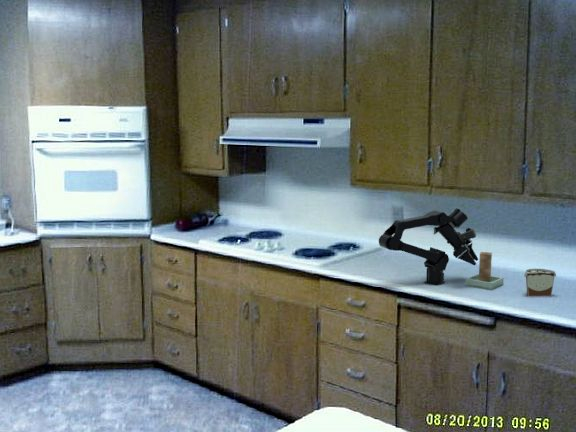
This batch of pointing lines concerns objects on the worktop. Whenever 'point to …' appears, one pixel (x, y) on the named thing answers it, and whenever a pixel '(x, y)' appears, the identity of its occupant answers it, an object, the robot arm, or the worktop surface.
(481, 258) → the walnut post
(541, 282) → the food container
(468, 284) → the tray
